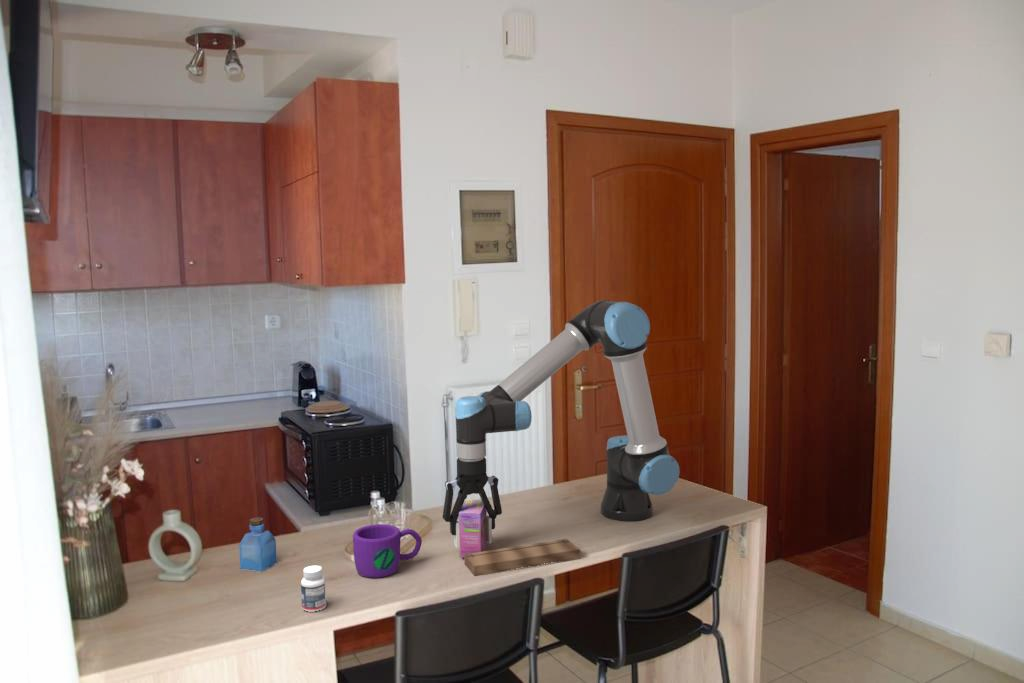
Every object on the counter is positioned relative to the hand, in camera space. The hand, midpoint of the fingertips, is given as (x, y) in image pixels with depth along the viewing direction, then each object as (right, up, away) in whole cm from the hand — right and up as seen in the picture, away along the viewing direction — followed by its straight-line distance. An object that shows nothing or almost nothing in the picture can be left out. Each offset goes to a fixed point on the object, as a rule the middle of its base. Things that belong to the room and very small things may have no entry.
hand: (473, 543), depth 205 cm
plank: (+13, -3, -5) cm, 14 cm away
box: (0, -2, +1) cm, 2 cm away
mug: (-20, -4, -8) cm, 22 cm away
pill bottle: (-34, -7, -29) cm, 45 cm away
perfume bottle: (-53, -4, -6) cm, 54 cm away
